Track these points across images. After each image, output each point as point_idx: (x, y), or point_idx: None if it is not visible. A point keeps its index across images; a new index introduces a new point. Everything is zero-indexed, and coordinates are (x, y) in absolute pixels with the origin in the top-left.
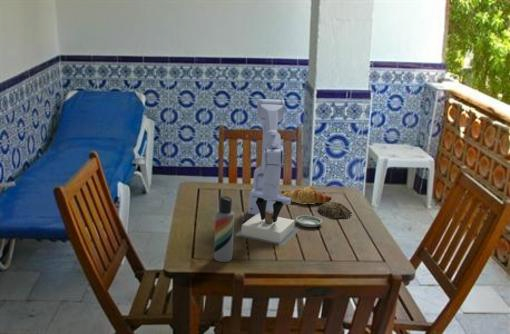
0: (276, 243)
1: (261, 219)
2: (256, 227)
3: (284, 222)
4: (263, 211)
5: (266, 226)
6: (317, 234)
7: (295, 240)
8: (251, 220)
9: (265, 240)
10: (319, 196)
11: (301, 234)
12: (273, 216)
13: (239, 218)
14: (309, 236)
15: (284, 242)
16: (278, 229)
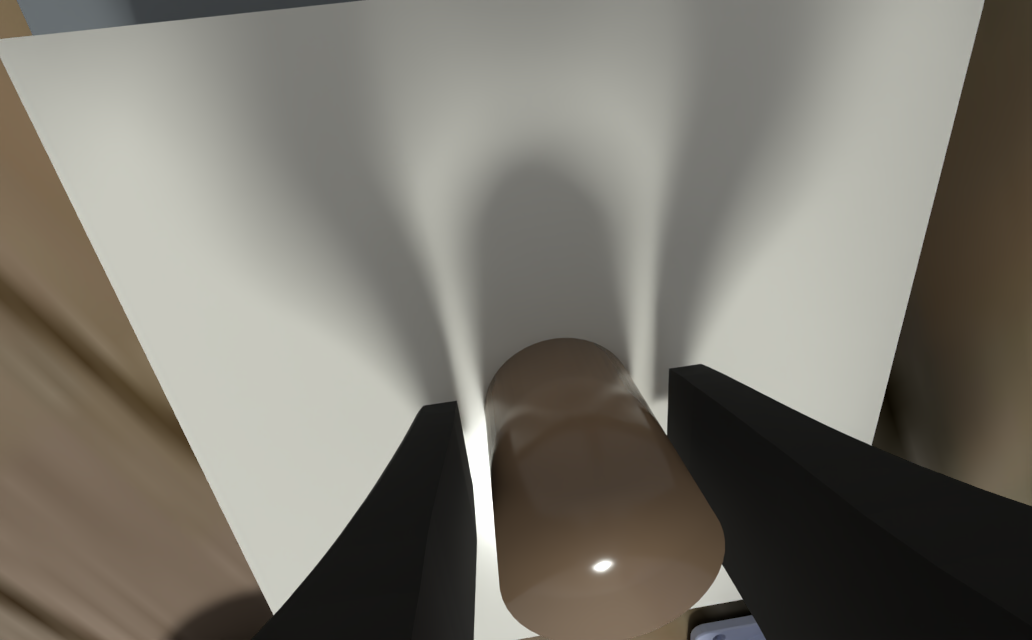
0: (173, 3)
1: (699, 365)
2: (650, 8)
3: None
4: (771, 520)
5: (497, 213)
6: (82, 609)
7: (107, 334)
8: (858, 297)
9: None
10: None
11: (202, 517)
12: (432, 473)
13: (963, 459)
14: (94, 527)
15: None
16: (204, 224)
